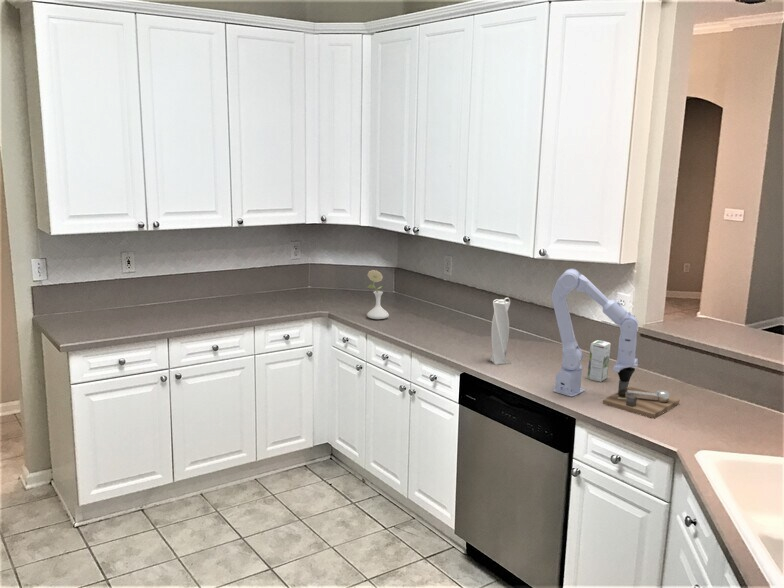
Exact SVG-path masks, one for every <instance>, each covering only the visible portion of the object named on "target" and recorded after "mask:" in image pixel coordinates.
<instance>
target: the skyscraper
mask: <svg viewBox="0 0 784 588" xmlns="http://www.w3.org/2000/svg"><path fill="white" fill-rule="evenodd" d="M506 300H508V301H506ZM492 305H493V311H494V312H493V316H492V320H491V333H490V334H491V335H490V336H491V349H492V354H491V357H490V358H489V361H490V362H491V361H492V362H491V363H492V364H494V365H495V364H498V365H512V363H511V362H510V361H509V360H507V347H508V342H509V336H510V335H509V334H510V319H509V313H508V311H509V308H510V305H511V299H510V298H509V297H504V299H498V298H496V299H494V300H493V301H492Z"/></svg>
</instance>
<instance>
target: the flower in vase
mask: <svg viewBox="0 0 784 588" xmlns="http://www.w3.org/2000/svg"><path fill="white" fill-rule="evenodd" d="M366 276H367V278H369V280H370V281H372V282H373V284H368V285H367V288H369V289H373V290H374V289H375V291H373V294H374V296H375V306H374V307H373V308H372V309H370V310H369V311H368V312H367V313H366V316H367V317H368V318H369V319H373V320H383V319H387V318H389V317H390V314H389V313H388V311H387V310H385V309H384V308H383V307H382V306H381V299H382V298H381V297H382V295H383V293H384V292H383V291H380V290H381V289H382V287H384V285H383V286H382V285H381V286H378V287H377V288H376V286H375V283H379V282H382V280H383V278H384V277H383V274H382V273H381V272H380V271H378V270H375V269H371V270H369V271H368V272H367V275H366Z"/></svg>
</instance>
